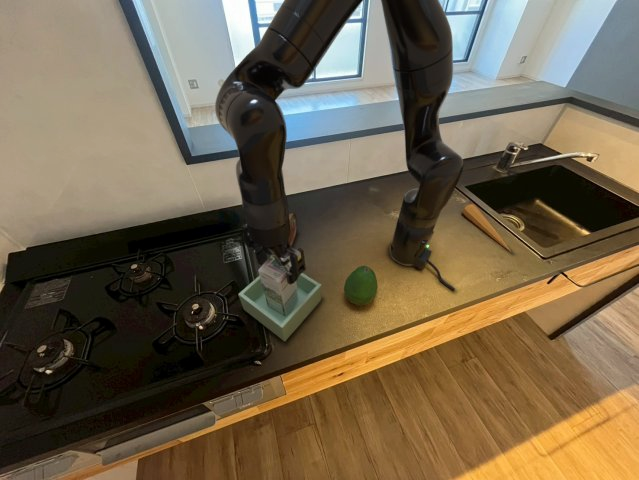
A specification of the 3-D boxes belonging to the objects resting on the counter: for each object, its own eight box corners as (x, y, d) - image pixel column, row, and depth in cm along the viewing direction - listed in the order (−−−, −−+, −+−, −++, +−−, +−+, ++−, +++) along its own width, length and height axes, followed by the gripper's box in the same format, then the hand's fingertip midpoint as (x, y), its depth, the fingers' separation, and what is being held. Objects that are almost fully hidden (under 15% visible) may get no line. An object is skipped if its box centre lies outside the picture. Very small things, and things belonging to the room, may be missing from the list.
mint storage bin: (321, 300, 70) (321, 284, 65) (284, 341, 63) (282, 327, 58) (281, 274, 76) (278, 258, 71) (243, 309, 68) (237, 294, 64)
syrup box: (299, 299, 70) (295, 261, 59) (285, 317, 66) (279, 281, 56) (280, 289, 72) (274, 251, 61) (266, 307, 68) (256, 269, 58)
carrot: (459, 214, 95) (460, 206, 91) (471, 207, 94) (473, 199, 91) (503, 259, 83) (506, 252, 79) (517, 252, 83) (521, 245, 79)
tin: (284, 264, 78) (281, 243, 72) (274, 262, 79) (270, 242, 73) (298, 228, 89) (296, 207, 83) (288, 227, 89) (286, 206, 83)
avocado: (372, 315, 67) (379, 286, 59) (340, 307, 69) (343, 278, 60) (376, 289, 72) (384, 258, 64) (346, 282, 74) (350, 251, 65)
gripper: (222, 208, 49) (241, 267, 61) (282, 243, 43) (290, 301, 55) (254, 188, 53) (266, 246, 65) (312, 218, 47) (314, 276, 59)
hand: (277, 271), depth 60 cm, fingers open, 8 cm apart
